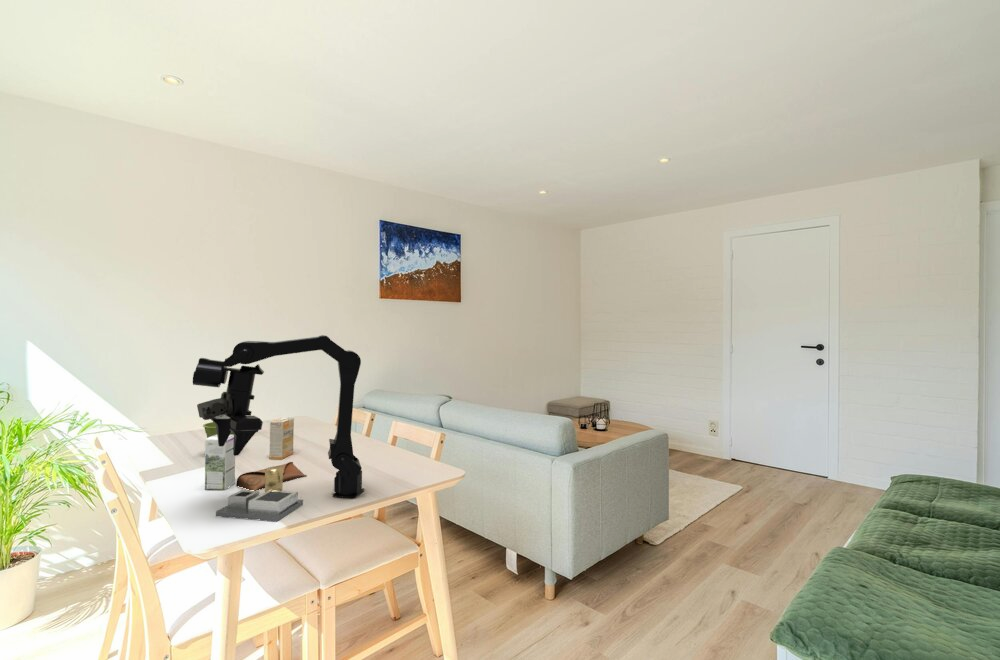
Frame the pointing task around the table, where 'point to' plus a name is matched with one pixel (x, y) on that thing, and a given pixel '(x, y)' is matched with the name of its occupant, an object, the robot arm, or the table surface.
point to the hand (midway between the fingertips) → (228, 450)
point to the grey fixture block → (261, 505)
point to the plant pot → (211, 429)
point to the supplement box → (281, 438)
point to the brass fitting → (274, 478)
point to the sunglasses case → (258, 477)
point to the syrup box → (219, 464)
